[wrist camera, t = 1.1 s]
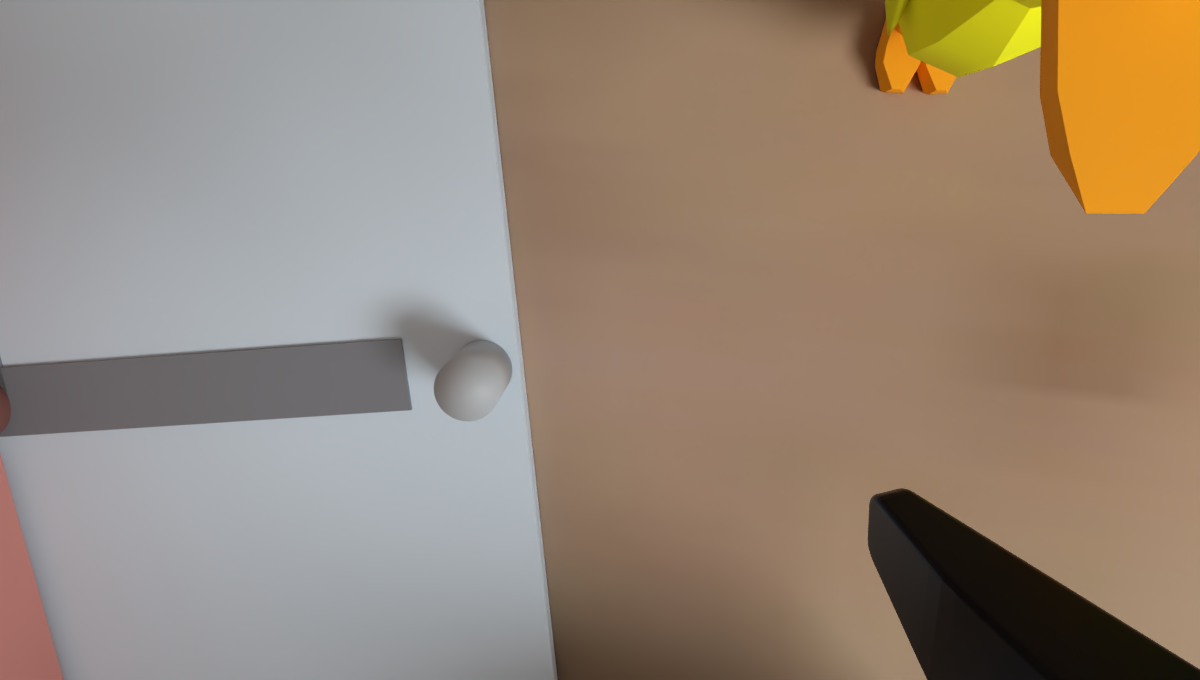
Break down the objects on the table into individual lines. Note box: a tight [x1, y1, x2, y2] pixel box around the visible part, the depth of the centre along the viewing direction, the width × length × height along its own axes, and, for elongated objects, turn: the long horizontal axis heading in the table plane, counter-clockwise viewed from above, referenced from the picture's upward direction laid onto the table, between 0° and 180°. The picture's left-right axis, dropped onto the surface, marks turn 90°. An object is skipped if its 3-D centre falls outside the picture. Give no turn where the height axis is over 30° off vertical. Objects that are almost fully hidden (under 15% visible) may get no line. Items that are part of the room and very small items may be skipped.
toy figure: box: [875, 0, 1200, 214], centre depth 12 cm, size 7×4×12 cm, turn 0°
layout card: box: [0, 0, 558, 680], centre depth 19 cm, size 23×21×3 cm
